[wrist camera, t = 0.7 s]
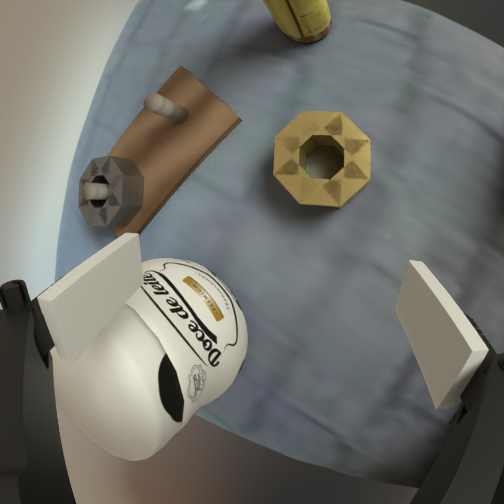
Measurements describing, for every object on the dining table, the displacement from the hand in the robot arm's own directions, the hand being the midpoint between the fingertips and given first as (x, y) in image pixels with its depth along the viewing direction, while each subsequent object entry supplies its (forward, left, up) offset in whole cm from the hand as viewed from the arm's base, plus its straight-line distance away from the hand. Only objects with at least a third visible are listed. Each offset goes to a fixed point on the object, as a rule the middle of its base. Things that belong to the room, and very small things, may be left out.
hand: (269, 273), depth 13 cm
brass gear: (+5, -6, -17) cm, 19 cm away
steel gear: (+21, +14, -16) cm, 30 cm away
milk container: (+2, +18, -17) cm, 25 cm away
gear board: (+21, +8, -17) cm, 28 cm away
